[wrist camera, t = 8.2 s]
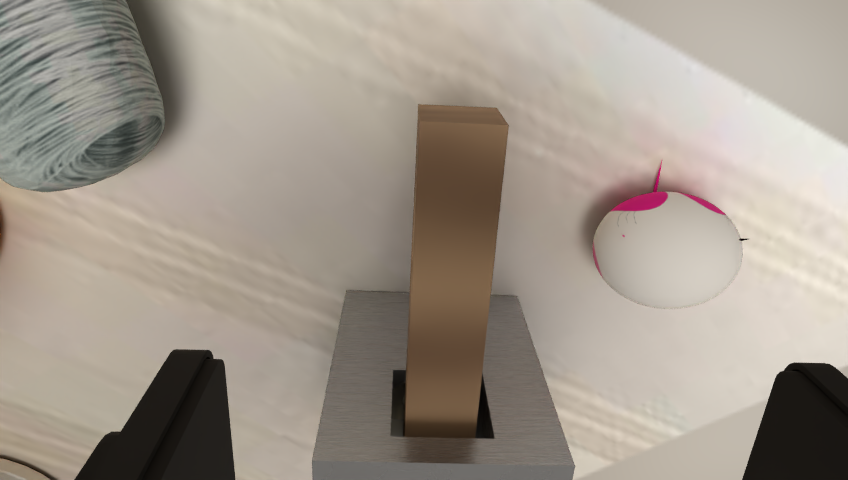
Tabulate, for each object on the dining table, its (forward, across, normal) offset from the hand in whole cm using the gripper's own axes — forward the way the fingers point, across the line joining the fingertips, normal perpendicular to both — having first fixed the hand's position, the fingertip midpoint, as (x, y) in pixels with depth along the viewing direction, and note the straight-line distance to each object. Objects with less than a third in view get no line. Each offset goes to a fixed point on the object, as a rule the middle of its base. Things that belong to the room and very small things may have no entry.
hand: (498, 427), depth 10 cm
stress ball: (+23, -12, +4) cm, 27 cm away
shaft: (+15, 0, +7) cm, 17 cm away
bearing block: (+23, 0, +14) cm, 27 cm away
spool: (+24, +18, -4) cm, 30 cm away
